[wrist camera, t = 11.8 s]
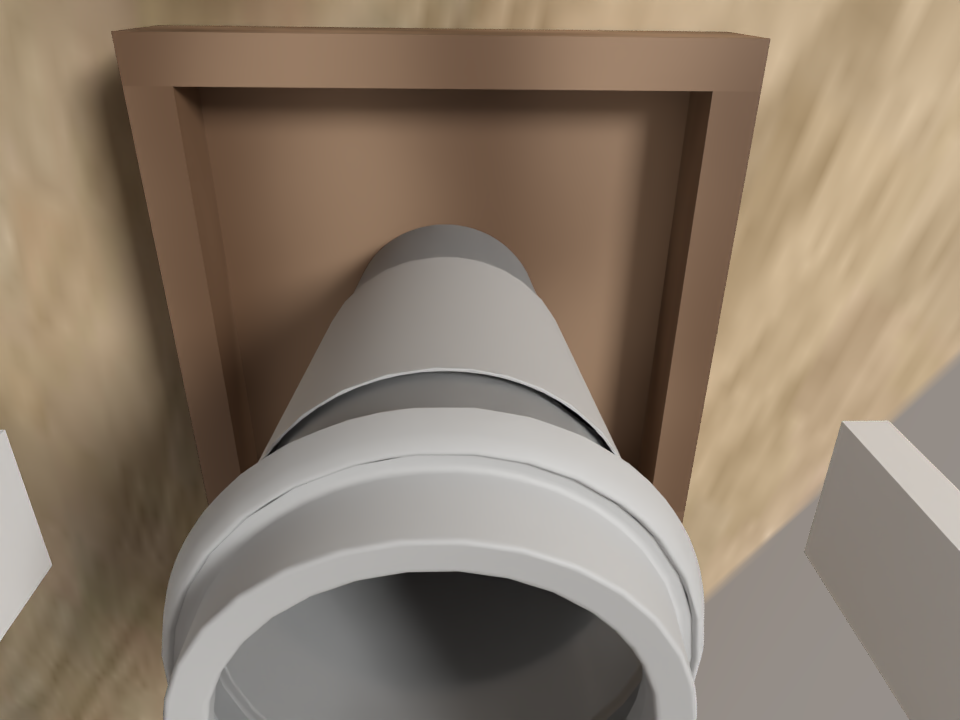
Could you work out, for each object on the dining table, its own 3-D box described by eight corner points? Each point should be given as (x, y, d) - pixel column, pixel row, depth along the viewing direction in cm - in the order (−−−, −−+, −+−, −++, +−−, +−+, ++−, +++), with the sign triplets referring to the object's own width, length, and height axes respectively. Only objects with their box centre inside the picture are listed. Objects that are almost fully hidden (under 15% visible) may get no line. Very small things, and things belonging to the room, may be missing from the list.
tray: (240, 489, 22) (216, 544, 20) (158, 25, 16) (110, 31, 14) (657, 485, 23) (679, 539, 20) (728, 31, 17) (769, 38, 14)
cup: (521, 451, 21) (592, 947, 10) (291, 392, 19) (92, 880, 9) (618, 220, 18) (871, 579, 7) (351, 134, 16) (158, 406, 6)
